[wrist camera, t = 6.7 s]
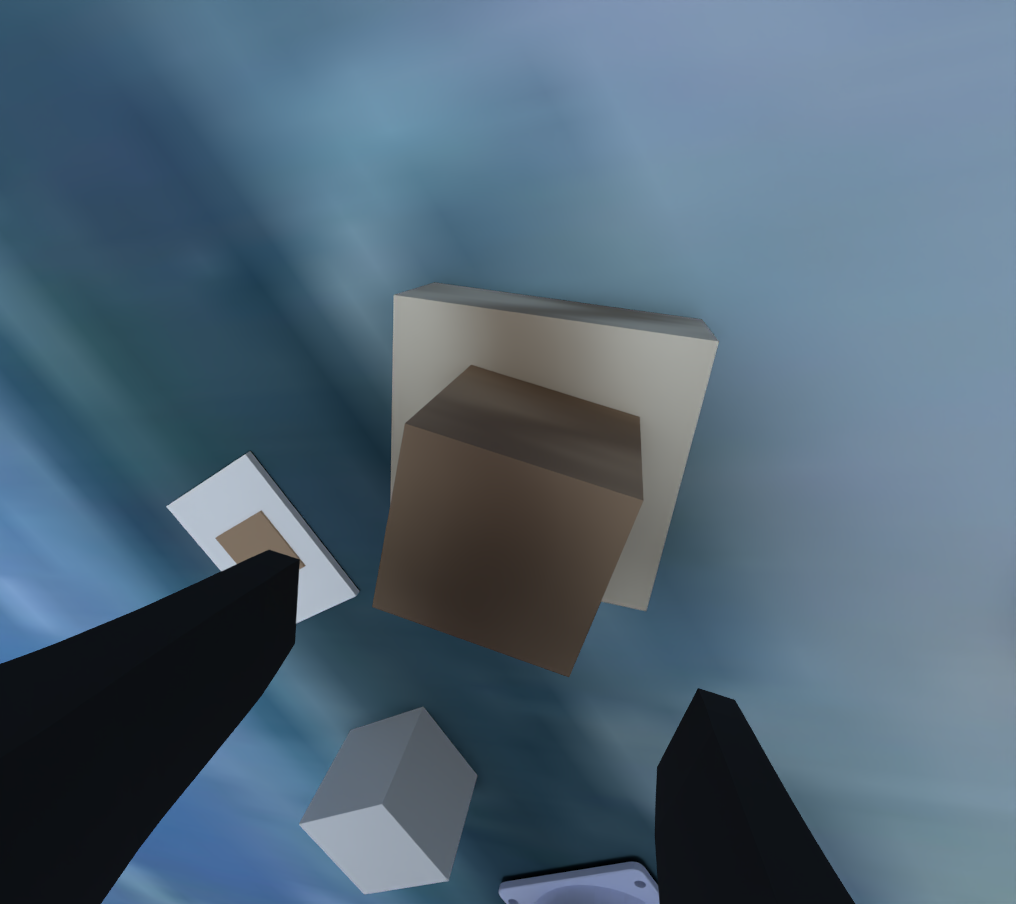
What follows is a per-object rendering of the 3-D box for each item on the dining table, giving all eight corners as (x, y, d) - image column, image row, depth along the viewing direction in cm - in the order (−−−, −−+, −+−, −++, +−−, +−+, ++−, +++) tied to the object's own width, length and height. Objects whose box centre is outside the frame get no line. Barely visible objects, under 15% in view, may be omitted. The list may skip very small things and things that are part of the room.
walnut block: (640, 416, 13) (643, 500, 9) (585, 557, 15) (569, 677, 11) (471, 364, 14) (404, 423, 10) (438, 508, 16) (372, 606, 12)
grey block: (477, 773, 25) (448, 880, 21) (404, 792, 27) (364, 894, 22) (423, 705, 24) (381, 804, 20) (351, 728, 25) (298, 824, 21)
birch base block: (700, 317, 16) (718, 341, 12) (643, 546, 19) (646, 611, 16) (437, 281, 17) (394, 295, 14) (427, 503, 20) (389, 555, 17)
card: (359, 591, 22) (355, 597, 21) (278, 628, 24) (272, 635, 23) (250, 451, 20) (243, 455, 20) (171, 503, 22) (164, 507, 22)
